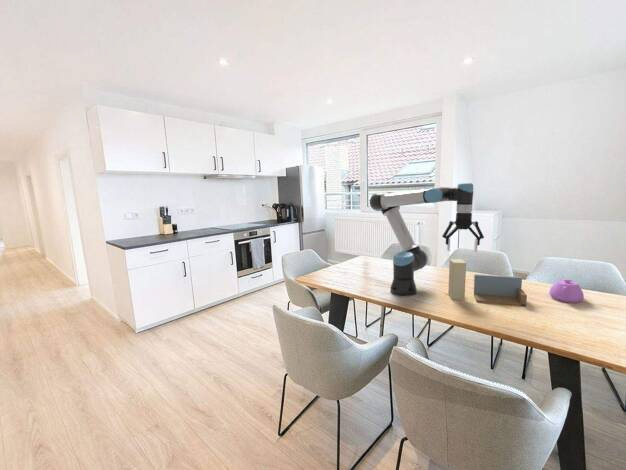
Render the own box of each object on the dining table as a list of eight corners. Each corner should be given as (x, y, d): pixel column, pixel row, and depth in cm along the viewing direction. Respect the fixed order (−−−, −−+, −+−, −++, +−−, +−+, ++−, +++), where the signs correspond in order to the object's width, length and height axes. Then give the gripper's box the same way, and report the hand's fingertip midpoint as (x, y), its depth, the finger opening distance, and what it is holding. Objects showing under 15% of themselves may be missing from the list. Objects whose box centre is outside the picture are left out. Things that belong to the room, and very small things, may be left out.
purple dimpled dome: (585, 296, 157) (587, 277, 155) (581, 307, 143) (583, 286, 142) (552, 290, 167) (553, 272, 165) (546, 300, 153) (547, 281, 152)
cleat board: (476, 302, 155) (477, 280, 154) (473, 294, 166) (474, 274, 164) (526, 306, 147) (527, 283, 145) (519, 298, 158) (521, 276, 156)
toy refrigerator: (466, 300, 159) (467, 262, 156) (451, 299, 160) (452, 262, 157) (462, 294, 166) (463, 259, 163) (448, 294, 168) (449, 259, 165)
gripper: (440, 213, 157) (438, 251, 160) (492, 212, 150) (489, 253, 154) (438, 211, 164) (436, 248, 167) (487, 211, 157) (485, 249, 161)
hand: (461, 250), depth 161 cm, fingers open, 13 cm apart
